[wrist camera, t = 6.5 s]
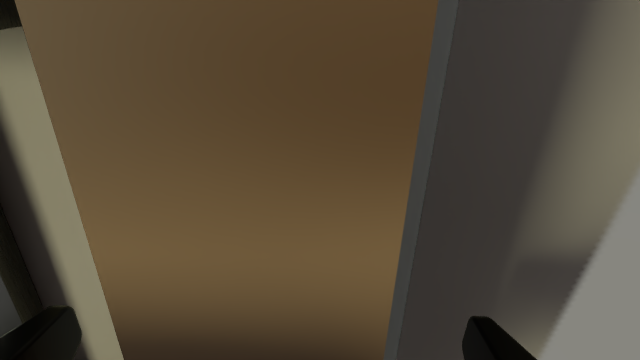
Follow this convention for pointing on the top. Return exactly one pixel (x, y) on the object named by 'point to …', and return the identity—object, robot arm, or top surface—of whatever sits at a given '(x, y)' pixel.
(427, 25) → the rail
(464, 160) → the top surface
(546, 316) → the top surface
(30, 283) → the rack
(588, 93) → the top surface
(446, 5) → the pad
